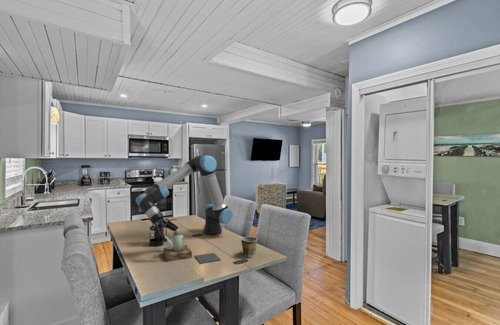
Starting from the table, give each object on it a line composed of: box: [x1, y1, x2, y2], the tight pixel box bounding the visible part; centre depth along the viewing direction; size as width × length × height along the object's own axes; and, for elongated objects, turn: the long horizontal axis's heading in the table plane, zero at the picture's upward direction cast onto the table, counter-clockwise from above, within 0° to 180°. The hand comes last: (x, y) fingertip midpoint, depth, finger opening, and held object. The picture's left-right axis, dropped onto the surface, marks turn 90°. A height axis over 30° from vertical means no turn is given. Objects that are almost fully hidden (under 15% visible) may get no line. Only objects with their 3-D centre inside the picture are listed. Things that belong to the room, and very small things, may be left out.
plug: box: [172, 230, 183, 252], centre depth 152 cm, size 5×5×14 cm
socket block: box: [163, 244, 193, 262], centre depth 152 cm, size 14×14×4 cm
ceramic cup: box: [240, 236, 258, 258], centre depth 156 cm, size 13×10×10 cm
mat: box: [194, 252, 222, 265], centre depth 148 cm, size 12×12×1 cm
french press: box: [148, 210, 168, 248], centre depth 172 cm, size 12×9×23 cm
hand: (176, 242), depth 152 cm, fingers open, 13 cm apart
